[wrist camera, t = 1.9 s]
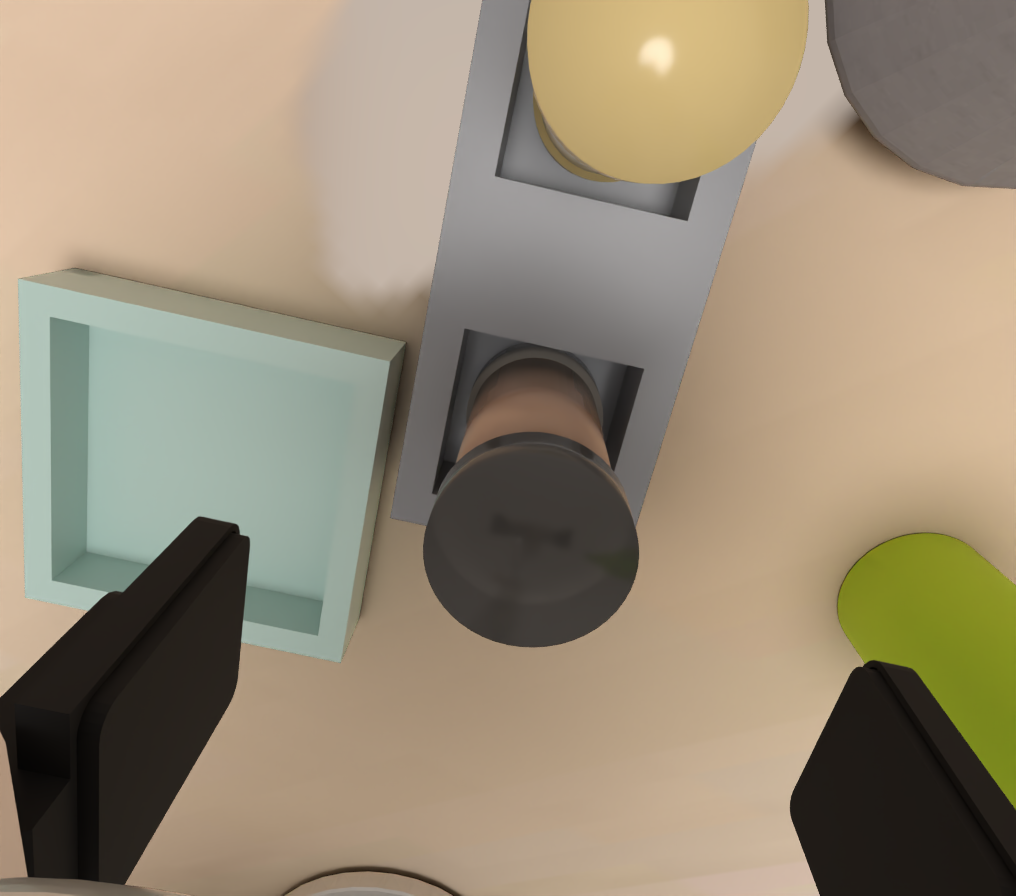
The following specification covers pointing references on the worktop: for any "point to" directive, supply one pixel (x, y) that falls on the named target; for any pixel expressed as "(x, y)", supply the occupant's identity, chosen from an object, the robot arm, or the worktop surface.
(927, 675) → the soap dispenser
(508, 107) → the fuse holder
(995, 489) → the worktop surface
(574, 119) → the fuse
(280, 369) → the parts tray
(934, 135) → the coffee pot
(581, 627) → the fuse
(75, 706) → the robot arm
